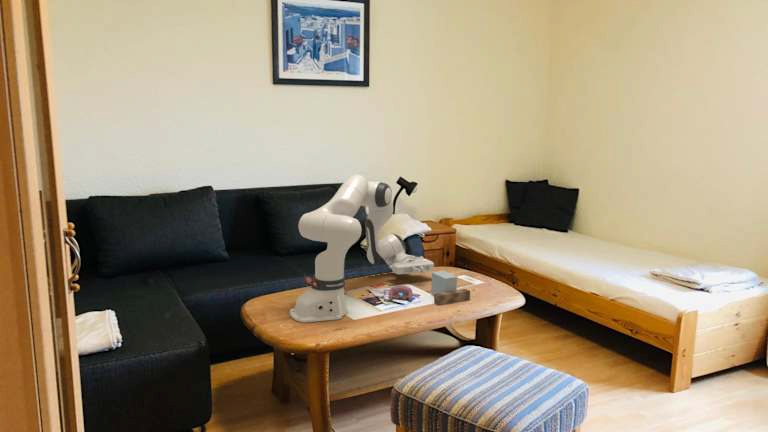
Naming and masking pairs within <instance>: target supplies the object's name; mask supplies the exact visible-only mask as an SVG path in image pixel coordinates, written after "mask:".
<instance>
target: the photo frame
mask: <svg viewBox="0 0 768 432" xmlns="http://www.w3.org/2000/svg"><path fill="white" fill-rule="evenodd" d="M455 276H456V275H455ZM456 277H457V279H458V278H459V279H458V280H461V279H462V281H463V280H464V282H466V281H467V283H469V282H470V283H469V285H465V286H461V287H457V290H458V289H459V290H462V289H467V287H468V288H471V287H472V286H473V287H477V286H481V284H482V285H485V284H486V282H485V281H483V280H479V279H477V278H473V277H471V276H469V275H465V274H462V275H458V276H456ZM471 283H472V284H471ZM476 285H477V286H476Z"/></svg>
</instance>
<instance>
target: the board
mask: <svg viewBox="0 0 768 432" xmlns="http://www.w3.org/2000/svg"><path fill="white" fill-rule="evenodd" d="M433 297H434V298H433V300H434V301H433V303H434V305H437V306H443V305H449V304H455V303H460V302H467V301H470V299H471V290H469V289H467V288H463V289H459V290H456V291H450V292H443V293H437V294H434V296H433Z"/></svg>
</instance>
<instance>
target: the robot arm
mask: <svg viewBox="0 0 768 432" xmlns="http://www.w3.org/2000/svg"><path fill="white" fill-rule="evenodd" d="M392 190H393V189H392V188H391V187H390V185H389V184H388V183H386V182H382V181H379V180H378V181H377V180H376V181H372V180H368V179H367V178H366V177H365V176H363V175H361V174H358V173H357V174H352V175H351V176H350V177H347V179H345V181H344V182H343V183H342V184H341V185H340V187H339V188H338V190H337V191H336V192H335V194H334V196H333V197H332V198H330V199H329V200H328V202H326V203H325V204H324V205H322V206H321V207H319V208H317V209H315V210H313V211H309V212H306V213H304V214H302V216H301V217H300V218H299V221H298V225H297V226H298V231H299V233H300V235H301V236H302V237H303V238H305V239H308V240H311V241H315V242H321V243H327V245H326V246H327V247H326V250H324V251H321V252H320V253H318V254H317V255H316V257H315V259H314V268H315V270H314V271H315V273H314V277H313V278H311V277H309V276H308V277H306V283H308V284H310V286H309V288H308V289H305V291H304V292H302V293H301V294H300V295H299V296H298V297H297V298H296V302H295V307H294V308H291V309H290V310H289V316H290V317H291V318H292V319H293V320H295V321H297V322H300V323H304V324H305V323H313V322H322V321H323V322H325V321H335V320H342V319H343V316H345V315H346V314H348V312H349V311H348V306H347V304H346V303H347V302H346V296H345V295H346V294H345V290H346V277H345V258H346V255H347V252H348V251H349V249H350V248H351V247H352V246H353V245H354V244H355V243H357V242H358V241H359V240H360V238H361V236H362V225H361V223H360V221H359V220H358V218H354V217H355V215H357V213H358V211H359V209H360V208H361V206H362V207H366V208H367V207H368V213H367V218H366V220H365V223H364V226H365V229H364V230H365V239H366V240H365V241H366V257H367V259H368V261H369V263H370V264H371V265H373V266H382V265H383V264H384V263H386V264H387V265H388V268H389V269H390V270H391V271H392V272H393V273H394V274H395V275H410V274H414V273H415V274H416V273H417V274H424V273H425V272H431V271H433V272H434V269H435V263H434V261H432V260H430V259H428V258H424V256H423V255H412V254H407V253H406V250H407V249H406V244H405V241H404V239H403V238H402V237H401V236H400V235H397V234H395V233H390V234H387V236H385V237H383V238H381V240H379V241H378V238H379V237H378V236H379V235H378V234H379V231H381V229H382V228H383V227H384V225H385V224H386V223H388V222H389V220H390V219H391V218H392V216H393V214H394V203H393V200H392V197H393V191H392Z"/></svg>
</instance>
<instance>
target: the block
mask: <svg viewBox="0 0 768 432" xmlns="http://www.w3.org/2000/svg"><path fill="white" fill-rule="evenodd" d="M457 288H458V278H457V277H456V275H454V274H452V273H449V272H447V271H445V270H439V271H433V272H431V288H430V289H431V293H430V294H431V296H433V297H434V294H437V293H443V292H450V291H456V290H457Z"/></svg>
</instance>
